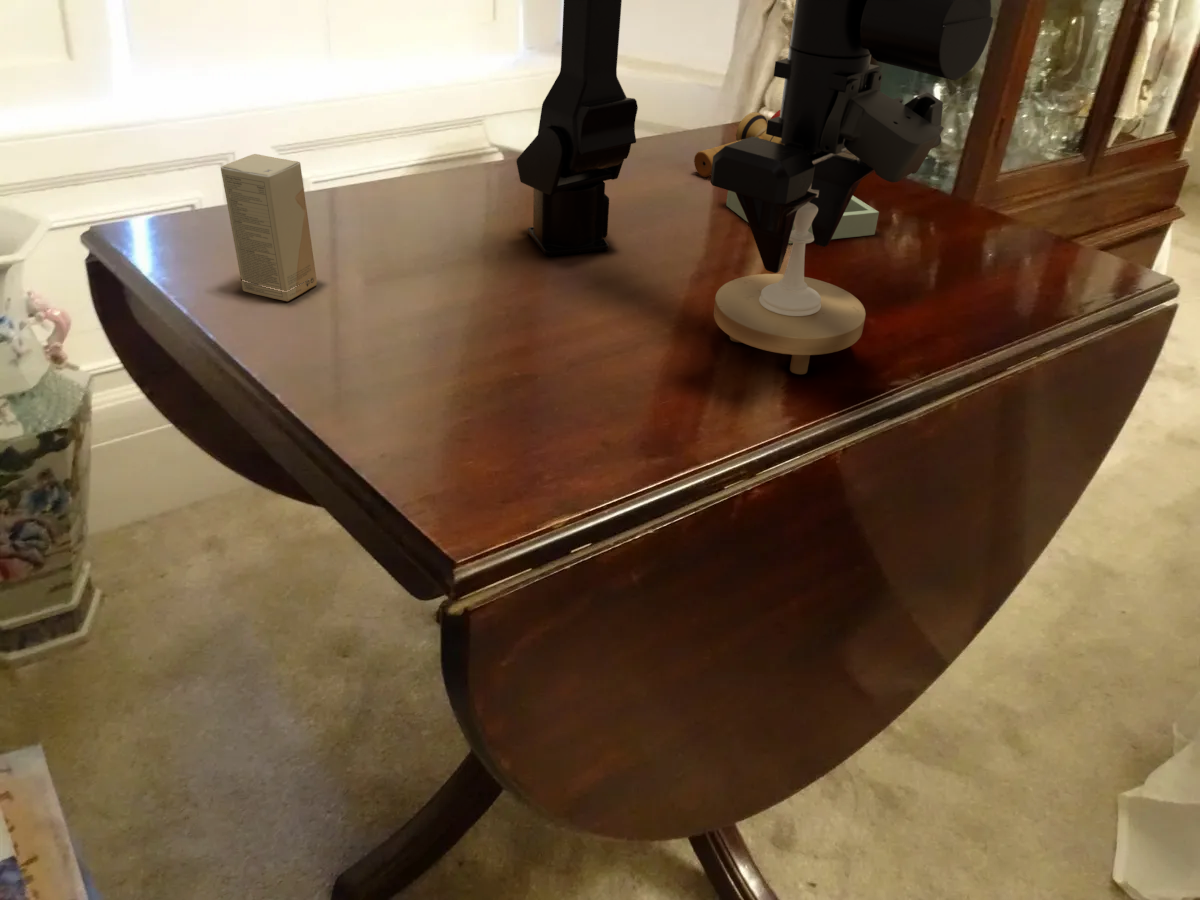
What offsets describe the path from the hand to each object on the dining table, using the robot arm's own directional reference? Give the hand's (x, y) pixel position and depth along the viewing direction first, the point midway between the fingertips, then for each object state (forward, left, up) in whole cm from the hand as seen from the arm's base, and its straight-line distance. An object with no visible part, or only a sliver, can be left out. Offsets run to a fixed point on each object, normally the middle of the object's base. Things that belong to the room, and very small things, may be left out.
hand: (797, 257), depth 81 cm
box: (-38, +22, -8) cm, 45 cm away
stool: (0, 0, -8) cm, 8 cm away
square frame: (+16, +26, -8) cm, 31 cm away
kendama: (+20, +44, -8) cm, 49 cm away
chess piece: (0, 0, -4) cm, 4 cm away
